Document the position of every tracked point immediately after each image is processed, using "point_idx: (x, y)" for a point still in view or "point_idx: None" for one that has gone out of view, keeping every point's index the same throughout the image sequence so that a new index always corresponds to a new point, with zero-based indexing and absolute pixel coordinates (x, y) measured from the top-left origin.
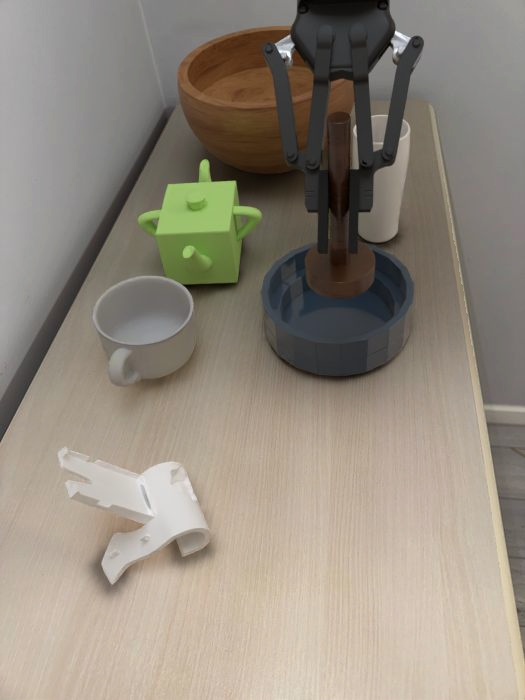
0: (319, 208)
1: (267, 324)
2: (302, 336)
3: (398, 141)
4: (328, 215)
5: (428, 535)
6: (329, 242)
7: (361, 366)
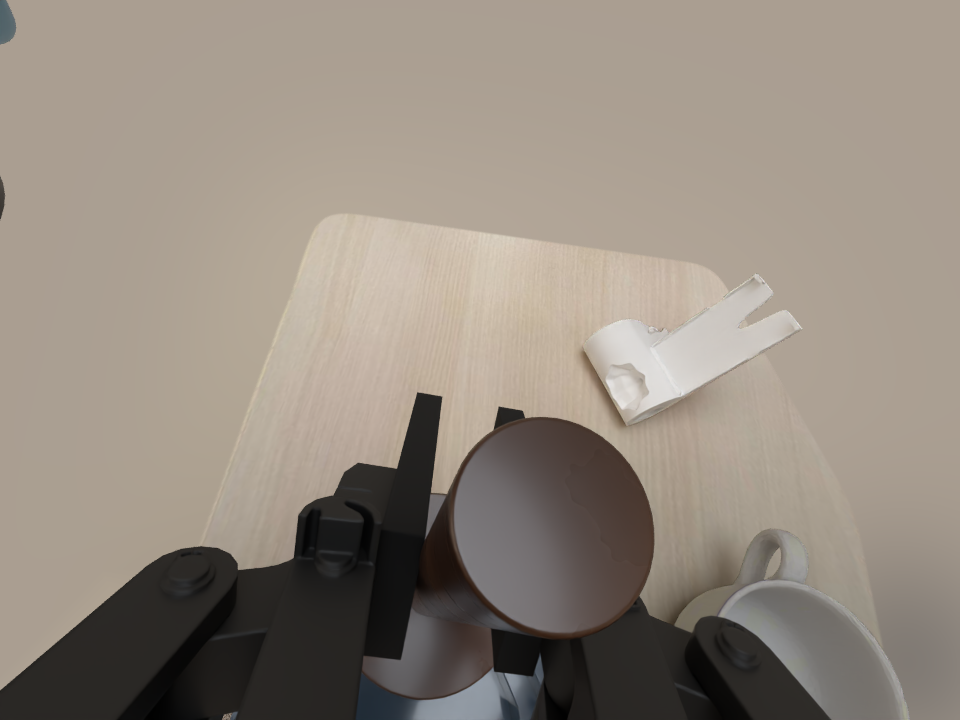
0: None
1: None
2: None
3: (85, 623)
4: None
5: (353, 333)
6: (451, 674)
7: None
